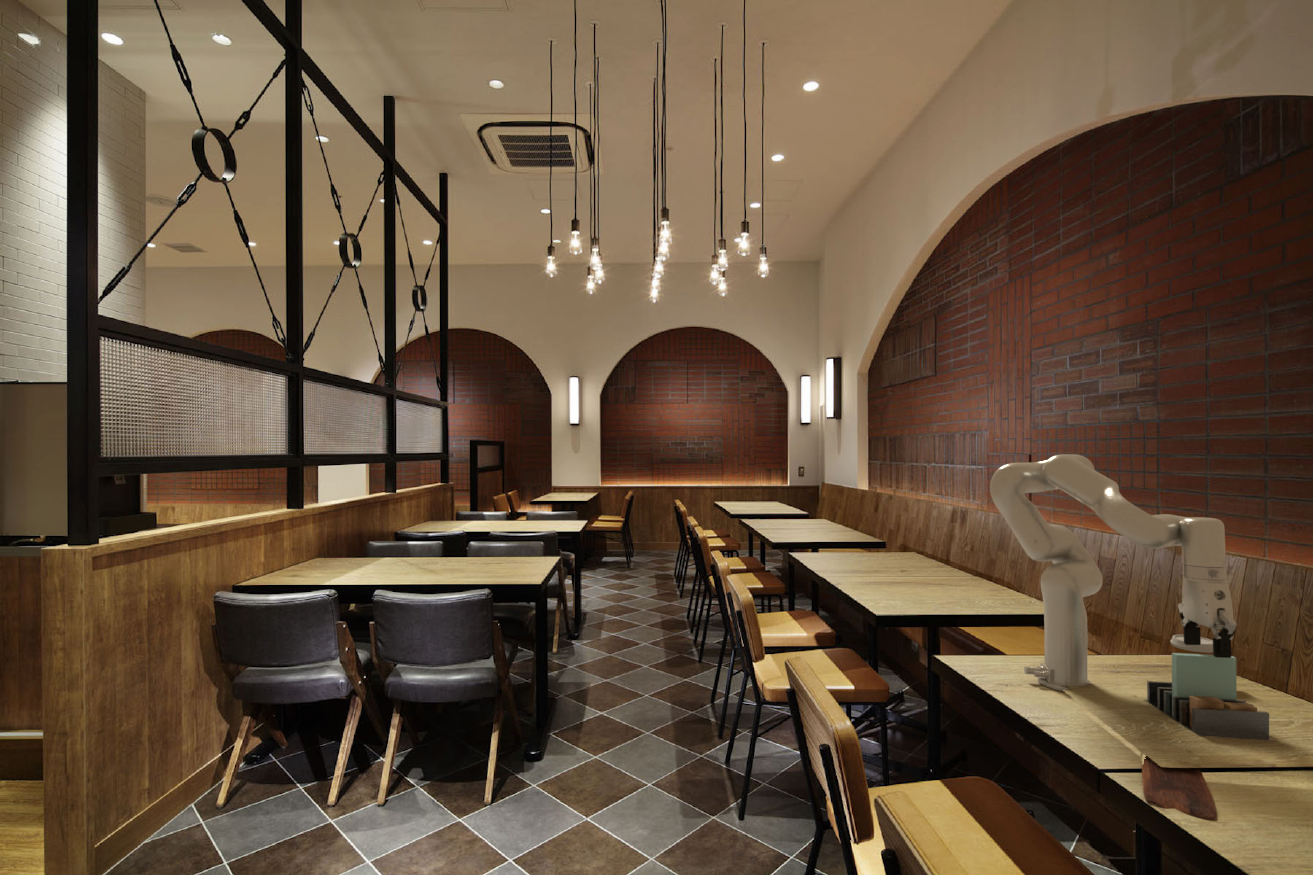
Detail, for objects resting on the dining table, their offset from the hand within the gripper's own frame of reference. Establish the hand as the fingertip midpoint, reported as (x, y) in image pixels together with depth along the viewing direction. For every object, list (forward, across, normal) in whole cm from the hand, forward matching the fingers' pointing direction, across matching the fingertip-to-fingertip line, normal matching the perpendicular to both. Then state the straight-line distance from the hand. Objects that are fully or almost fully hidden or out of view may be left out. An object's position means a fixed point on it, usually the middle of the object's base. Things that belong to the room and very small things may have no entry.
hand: (1206, 650), depth 147 cm
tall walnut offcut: (+15, -5, +4) cm, 17 cm away
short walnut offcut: (+15, -5, -3) cm, 16 cm away
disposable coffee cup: (+17, +28, -13) cm, 35 cm away
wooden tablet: (+18, -27, +23) cm, 40 cm away
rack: (+17, +1, +1) cm, 17 cm away
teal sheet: (+15, +1, +1) cm, 15 cm away
